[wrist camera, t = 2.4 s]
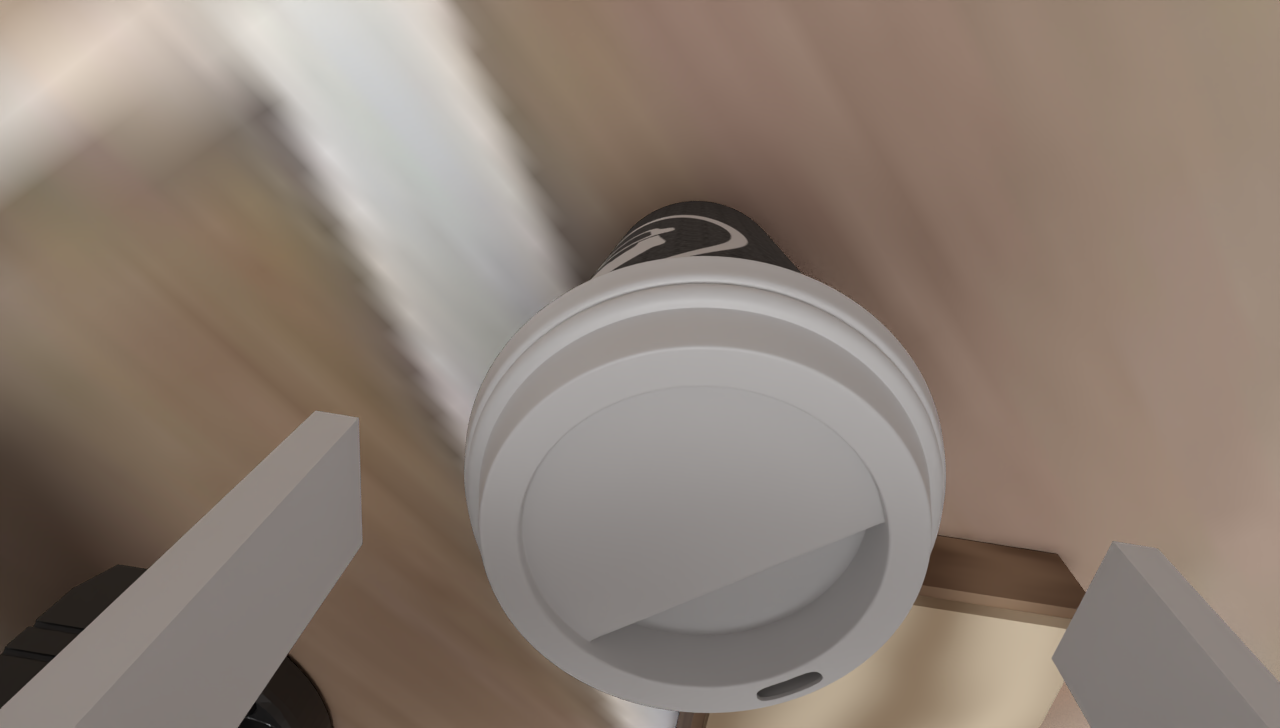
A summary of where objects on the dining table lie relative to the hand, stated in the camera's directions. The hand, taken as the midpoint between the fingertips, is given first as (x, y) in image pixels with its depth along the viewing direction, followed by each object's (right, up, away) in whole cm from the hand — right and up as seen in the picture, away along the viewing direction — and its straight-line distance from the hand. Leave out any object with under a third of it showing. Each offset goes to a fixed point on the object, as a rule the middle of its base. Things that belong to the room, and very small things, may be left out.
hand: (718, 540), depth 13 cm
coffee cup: (+1, +6, +14) cm, 15 cm away
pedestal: (+8, -10, +20) cm, 24 cm away
